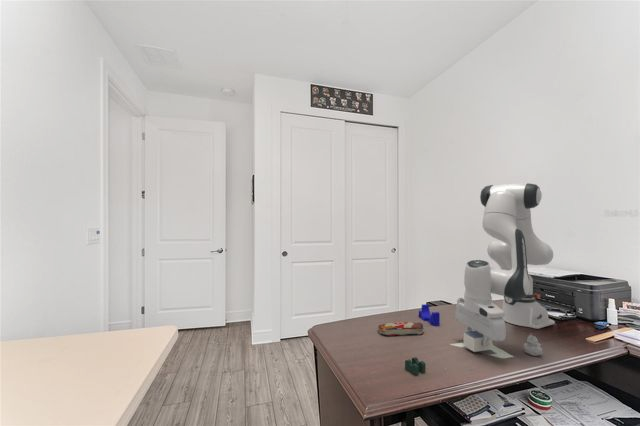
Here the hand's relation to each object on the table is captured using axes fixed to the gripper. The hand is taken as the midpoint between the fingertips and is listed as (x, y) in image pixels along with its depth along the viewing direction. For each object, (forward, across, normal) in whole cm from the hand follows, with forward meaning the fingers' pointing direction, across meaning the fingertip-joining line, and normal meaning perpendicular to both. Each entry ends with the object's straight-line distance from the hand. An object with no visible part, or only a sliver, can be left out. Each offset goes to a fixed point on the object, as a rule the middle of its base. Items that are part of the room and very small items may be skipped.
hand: (477, 342), depth 100 cm
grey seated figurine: (+4, +6, +18) cm, 20 cm away
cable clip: (+4, -30, 0) cm, 30 cm away
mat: (+4, 0, 0) cm, 4 cm away
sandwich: (+4, -20, -20) cm, 29 cm away
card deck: (+2, 0, 0) cm, 2 cm away
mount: (+4, +8, -31) cm, 32 cm away
